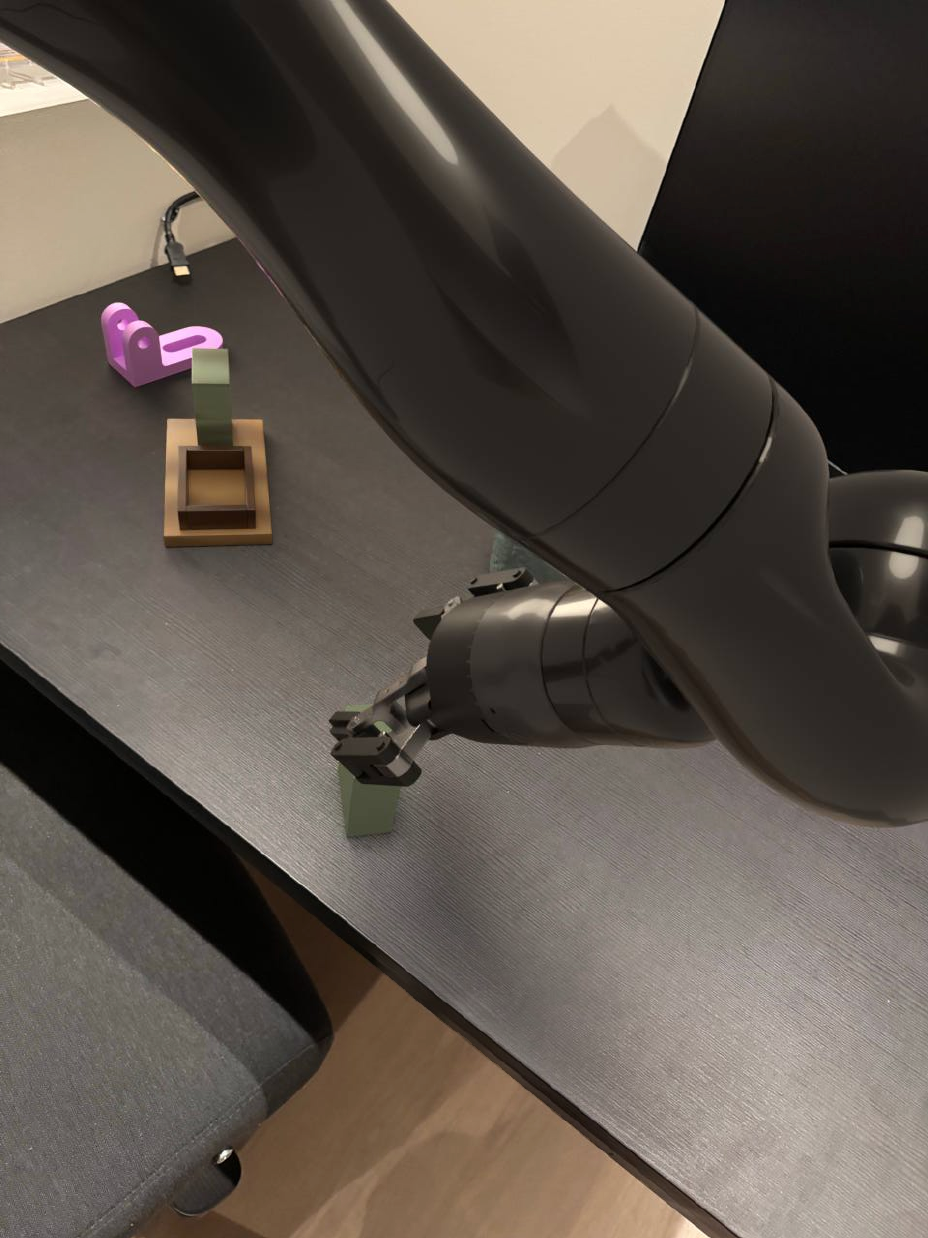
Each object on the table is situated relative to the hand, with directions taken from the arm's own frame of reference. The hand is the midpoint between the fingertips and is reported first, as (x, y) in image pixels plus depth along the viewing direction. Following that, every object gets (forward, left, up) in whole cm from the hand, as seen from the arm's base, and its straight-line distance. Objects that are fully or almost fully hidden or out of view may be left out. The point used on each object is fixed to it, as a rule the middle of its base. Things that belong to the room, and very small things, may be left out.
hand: (384, 676), depth 53 cm
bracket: (+28, +57, -18) cm, 65 cm away
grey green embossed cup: (+31, +6, -18) cm, 36 cm away
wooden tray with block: (+17, +36, -18) cm, 44 cm away
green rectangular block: (+1, +1, -18) cm, 18 cm away
